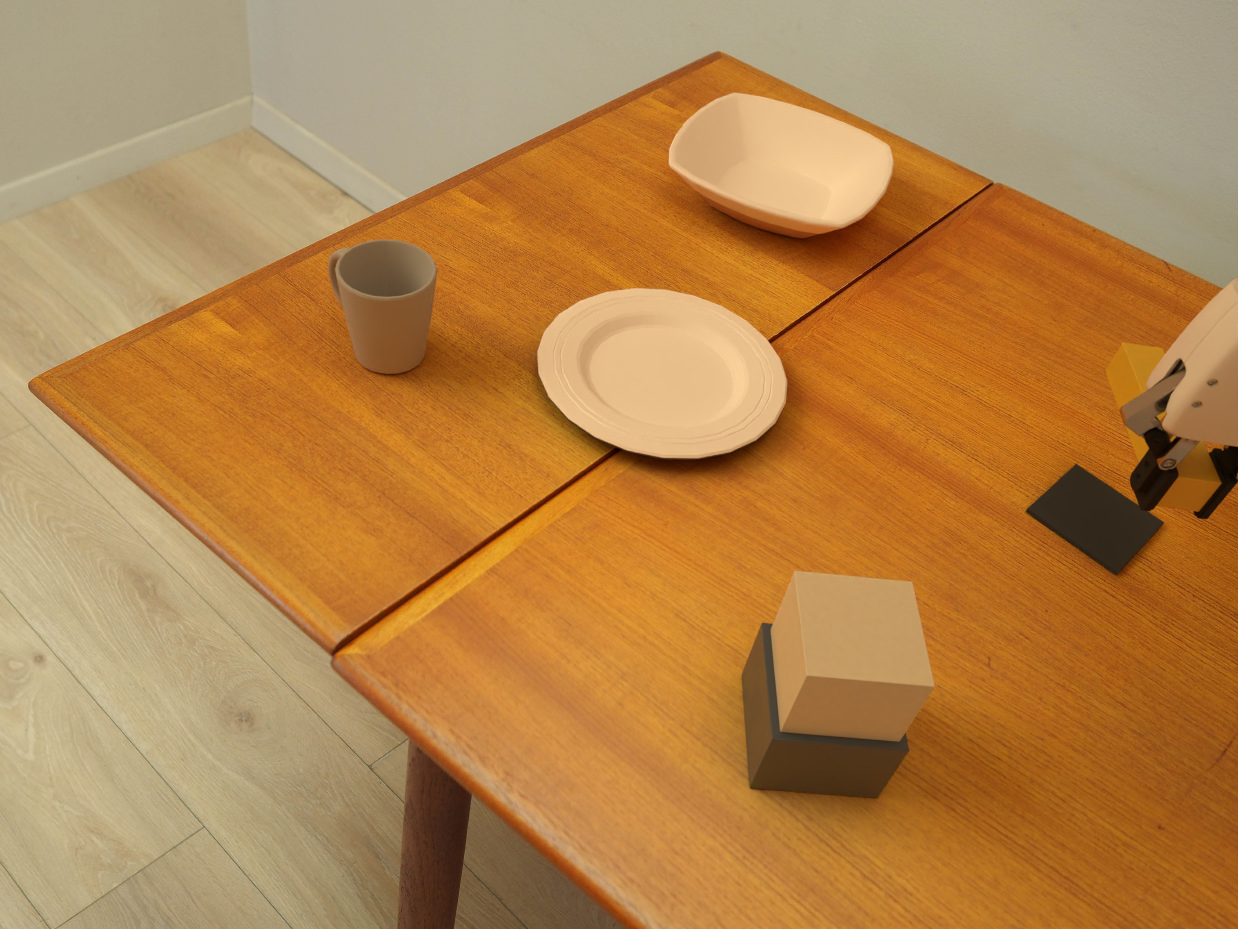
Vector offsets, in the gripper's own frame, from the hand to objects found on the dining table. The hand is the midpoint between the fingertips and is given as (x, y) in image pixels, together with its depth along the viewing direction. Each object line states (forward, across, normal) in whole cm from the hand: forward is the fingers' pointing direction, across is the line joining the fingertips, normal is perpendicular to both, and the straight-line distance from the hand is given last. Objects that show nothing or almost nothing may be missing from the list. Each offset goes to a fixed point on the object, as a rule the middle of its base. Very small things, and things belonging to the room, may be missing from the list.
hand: (1168, 498), depth 73 cm
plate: (+9, +35, -14) cm, 39 cm away
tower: (+8, +24, +17) cm, 31 cm away
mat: (+9, 0, -5) cm, 10 cm away
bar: (0, 0, -6) cm, 6 cm away
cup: (+9, +58, -14) cm, 61 cm away
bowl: (+9, +25, -45) cm, 52 cm away
